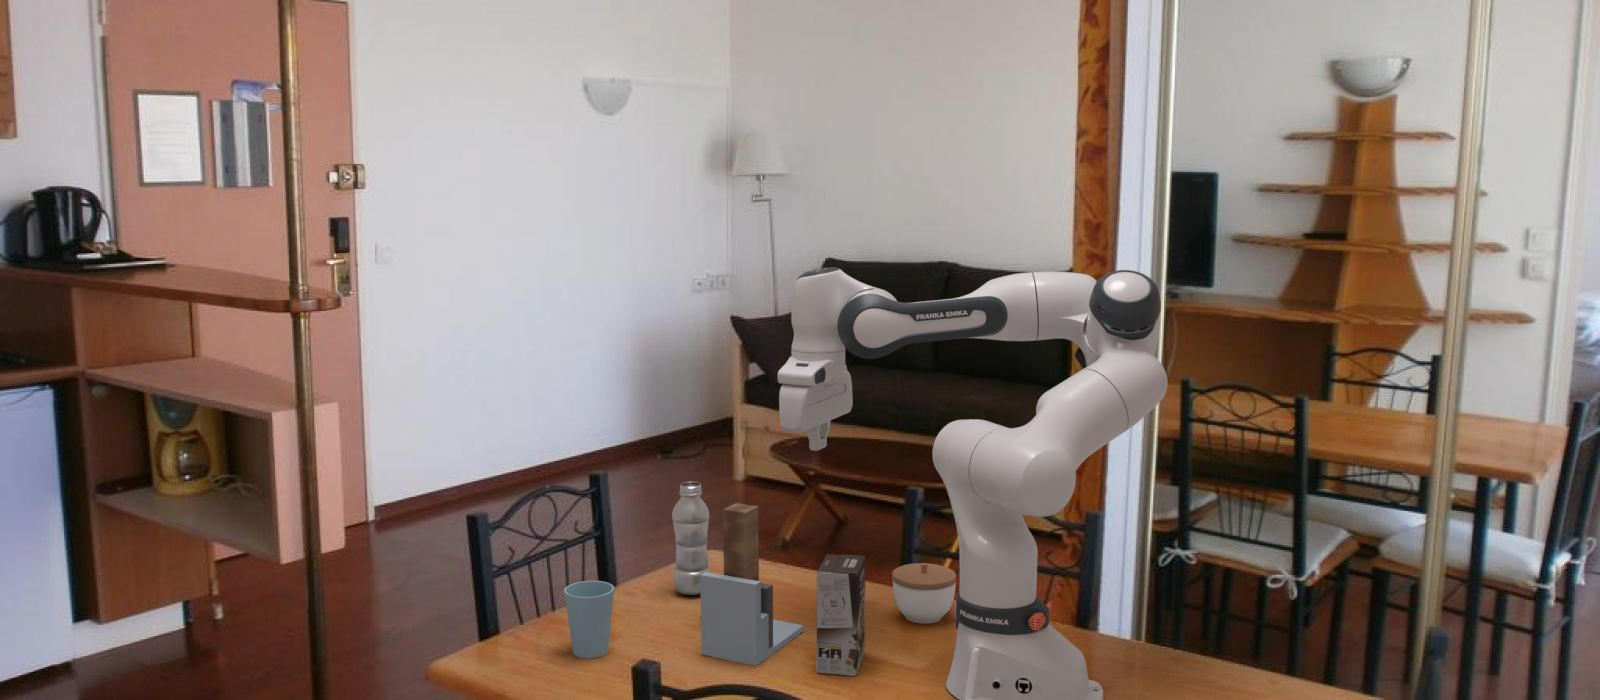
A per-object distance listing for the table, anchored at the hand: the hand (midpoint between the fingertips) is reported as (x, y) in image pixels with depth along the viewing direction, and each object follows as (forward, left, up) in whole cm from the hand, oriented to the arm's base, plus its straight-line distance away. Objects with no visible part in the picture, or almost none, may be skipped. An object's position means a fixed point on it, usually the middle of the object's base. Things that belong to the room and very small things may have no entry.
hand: (817, 448), depth 208 cm
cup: (+25, +30, -29) cm, 49 cm away
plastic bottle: (+25, 0, -29) cm, 39 cm away
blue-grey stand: (+4, +15, -29) cm, 33 cm away
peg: (+4, +19, -28) cm, 34 cm away
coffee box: (-12, +16, -29) cm, 36 cm away
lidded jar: (-16, -8, -29) cm, 34 cm away
